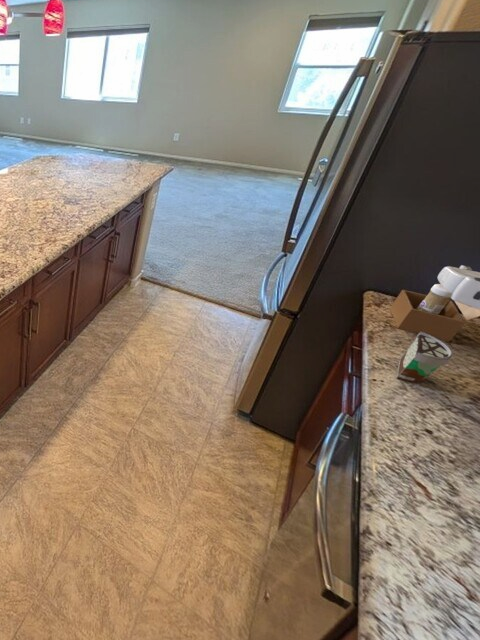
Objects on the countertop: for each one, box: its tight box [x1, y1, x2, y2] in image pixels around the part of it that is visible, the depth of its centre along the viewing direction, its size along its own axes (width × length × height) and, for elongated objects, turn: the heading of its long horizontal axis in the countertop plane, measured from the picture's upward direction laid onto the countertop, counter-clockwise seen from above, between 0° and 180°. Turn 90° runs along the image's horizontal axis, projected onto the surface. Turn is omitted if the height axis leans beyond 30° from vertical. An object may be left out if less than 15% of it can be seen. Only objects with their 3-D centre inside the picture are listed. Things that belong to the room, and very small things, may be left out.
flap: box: [454, 301, 480, 322], centre depth 111 cm, size 5×12×1 cm
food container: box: [396, 332, 452, 384], centre depth 100 cm, size 12×6×10 cm, turn 132°
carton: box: [389, 289, 466, 343], centre depth 118 cm, size 11×12×8 cm
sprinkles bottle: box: [416, 283, 452, 315], centre depth 116 cm, size 5×5×14 cm
